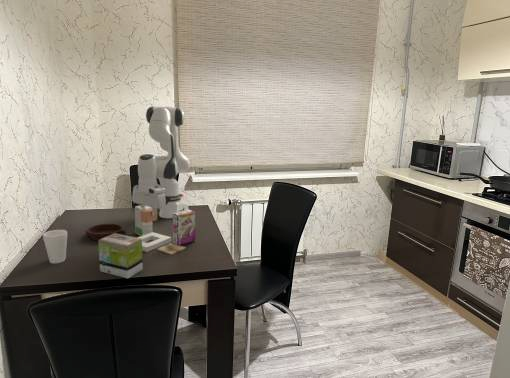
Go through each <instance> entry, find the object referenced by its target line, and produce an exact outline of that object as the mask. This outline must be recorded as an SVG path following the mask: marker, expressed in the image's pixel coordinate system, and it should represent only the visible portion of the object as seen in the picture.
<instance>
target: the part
mask: <svg viewBox="0 0 510 378" xmlns="http://www.w3.org/2000/svg"><path fill="white" fill-rule="evenodd" d="M152 210H153V209H152V207H151V208H149V209H145V210H142V211H140V218H141V222H144V223H149V222H152V223H153V222H155V221H157V220H158V209H157V210H156V212H155V215H154V216H153V215H151V212H152Z"/></svg>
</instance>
